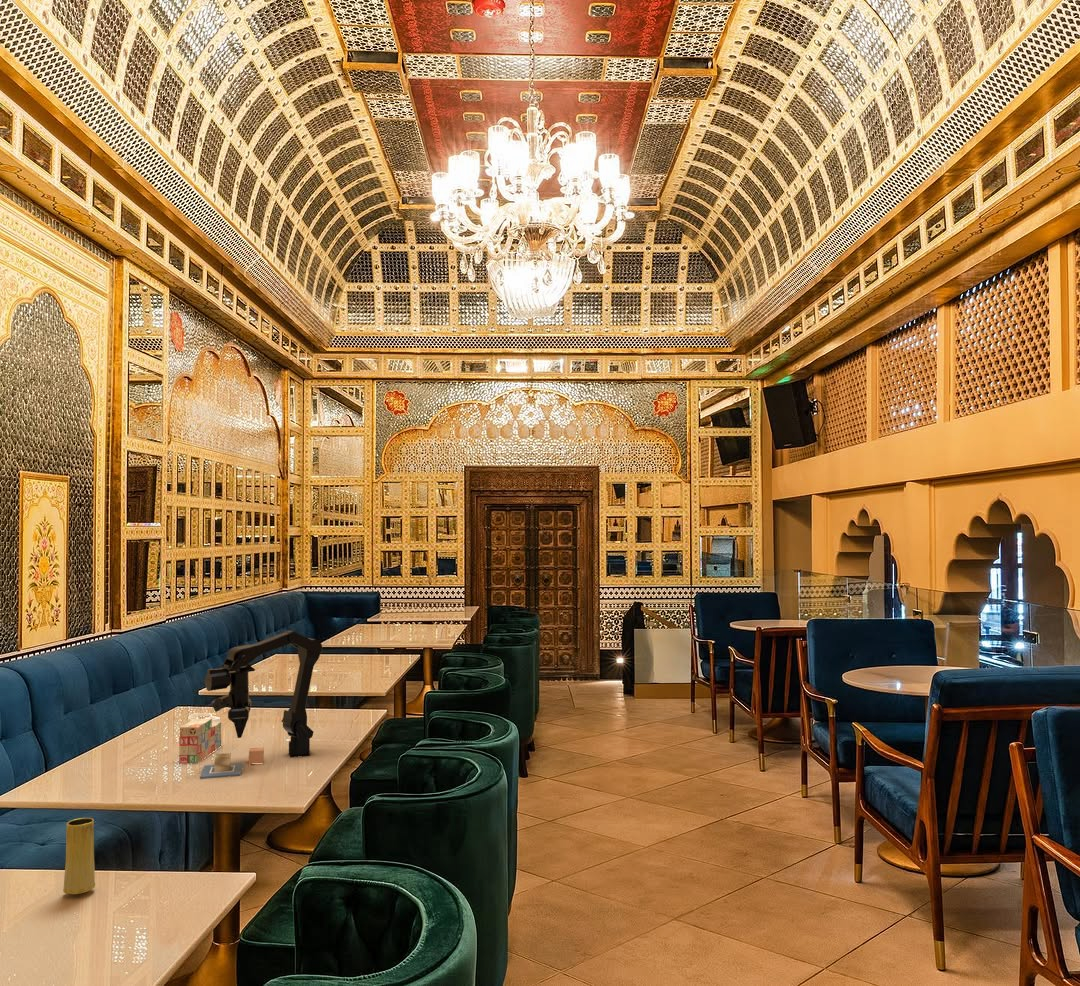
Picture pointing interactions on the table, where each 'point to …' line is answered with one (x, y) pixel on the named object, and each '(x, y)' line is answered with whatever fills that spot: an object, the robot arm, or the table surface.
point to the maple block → (222, 762)
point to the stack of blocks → (198, 740)
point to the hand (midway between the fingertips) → (240, 734)
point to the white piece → (192, 716)
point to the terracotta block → (256, 755)
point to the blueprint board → (209, 771)
